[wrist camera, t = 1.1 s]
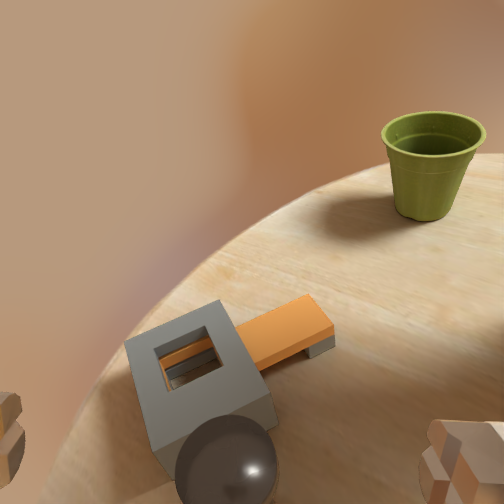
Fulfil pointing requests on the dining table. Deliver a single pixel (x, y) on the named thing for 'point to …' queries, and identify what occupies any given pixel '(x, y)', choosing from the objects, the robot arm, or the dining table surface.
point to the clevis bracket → (224, 378)
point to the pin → (227, 463)
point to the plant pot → (429, 160)
